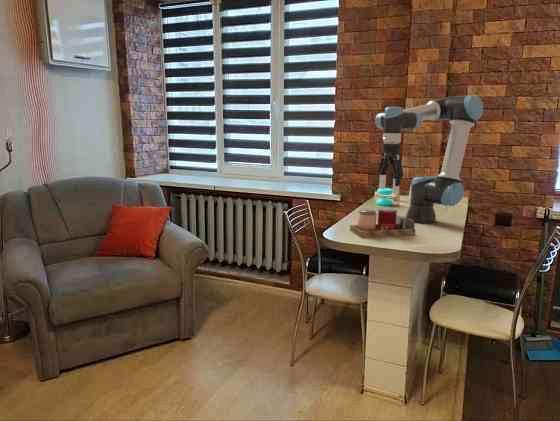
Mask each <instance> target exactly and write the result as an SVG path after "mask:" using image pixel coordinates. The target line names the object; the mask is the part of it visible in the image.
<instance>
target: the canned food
mask: <svg viewBox="0 0 560 421" xmlns="http://www.w3.org/2000/svg"><path fill="white" fill-rule="evenodd" d="M377 211H378V212H377V224H378V227H377V230H395V229H396V215H398V214H397V212H398V210H397V208H395V207H388V206H385V207H384V206H383V207H382V206H381V207H379V208H378V210H377Z"/></svg>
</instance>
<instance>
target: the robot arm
mask: <svg viewBox="0 0 560 421" xmlns="http://www.w3.org/2000/svg"><path fill="white" fill-rule="evenodd" d="M483 114H484V104H483V102H482V99H481V98H480V97H479V96H477V95H476V94H475V95H470V94H467V95H457V96H456V95H454V96H453V95H452V96H450V95H449V96H446V97H441V98H439V99H435V100H431V101H428V103H426V104H422V105H418V106H413V107H408V108H404V109H403V107H401V106H388V107H386V108H385V109H384V112H380V113H378V114H377V115H376V116H375V118H374V123H375V127H377V128H378V129H380V130H381V129H382V130H383V133H382V142H383V144H382V153H381V156H380V162H379V165H378V168H377V173H378V174H379V183H378V184H379V185H378V186H379V188H378V189H385V188H386V186H387V185H386V179H387V171H388V169H389V167H391V170H392V171H391V172H392V174H393V178H392V179H393V181H392V190H393V193H392V195H393V194H395V195H396V194H397V195H398V194H400V186H401V185H400V184H401V179H403V178H404V172H403V164H402V156H401V154H398V153H400V152H401V144H400V143H401V142H402V140H401V139H402V130H410V131H411V130H412V131H413V130H418V129H419V128H421V126H422V124H423V122H424V121H428V120H430V121H437V120H439V121H441V120H442V121H443V120H444V121H448V122H449V124H450V125H451V127H450V132H449V136H448V140H447V143H446V148H445V154H444V157H443V161H442V165H441V166H442V167H441V171H440V173H439V174H437V175H436V176H421V177H414V178H412V180H411V185H410V186H411V187H410V199H409V200H410V204H409V207H408V209H407V213H406V215H405V217H406V218H408V219H411V220H413V221H415V224H416V223H419V224H432V223H433V224H434V223H436V220H437V216H436V212H435V208H434V204H437V205H442V206H445V207H452V206H453V207H454V206H456V205H457V204H458V203H460V202H461V201H462V199H463V197H464V193H465V187H464V185H463V184H462V179H461V178H460V173H461V169H462V164H463V161H464V157H465V151H466V148H467V145H468V144H467V143H468V139H469V135H470V131H471V128H472V127H474V126H475V124H476V121H478V120H480V119H481V118H482V116H483Z"/></svg>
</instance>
